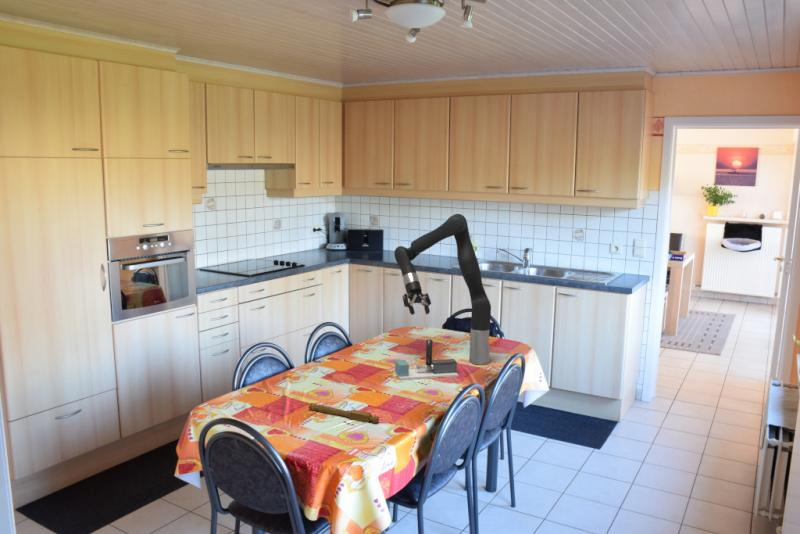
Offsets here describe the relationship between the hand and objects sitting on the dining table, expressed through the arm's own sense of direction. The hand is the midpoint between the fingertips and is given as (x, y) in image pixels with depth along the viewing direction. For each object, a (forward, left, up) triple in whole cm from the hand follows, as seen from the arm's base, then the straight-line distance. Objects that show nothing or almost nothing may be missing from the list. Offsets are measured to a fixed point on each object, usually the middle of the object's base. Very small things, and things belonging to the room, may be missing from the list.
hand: (420, 313), depth 310 cm
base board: (0, +14, -25) cm, 29 cm away
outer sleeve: (-8, +14, -25) cm, 30 cm away
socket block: (+12, +14, -25) cm, 32 cm away
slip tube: (-4, +14, -24) cm, 28 cm away
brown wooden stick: (+45, +56, -26) cm, 77 cm away
